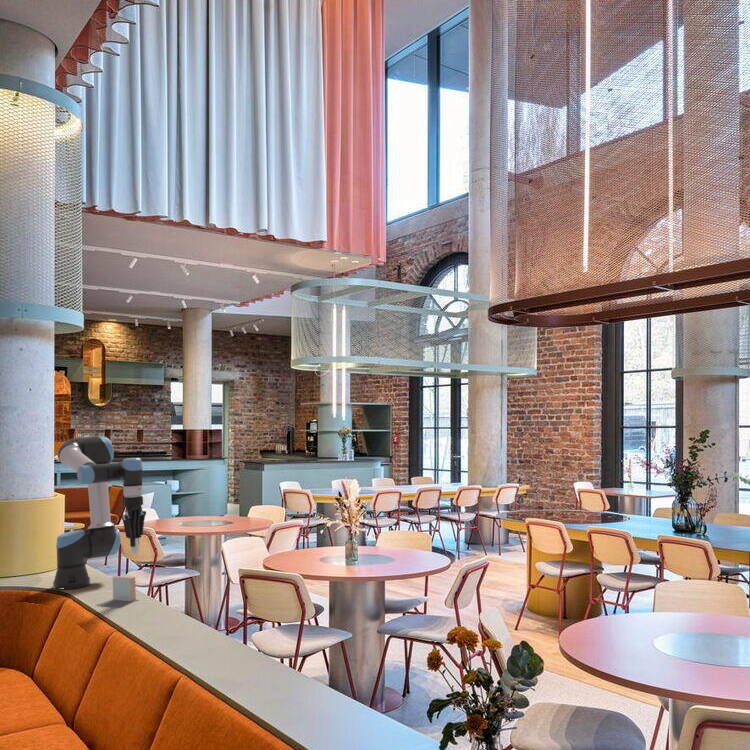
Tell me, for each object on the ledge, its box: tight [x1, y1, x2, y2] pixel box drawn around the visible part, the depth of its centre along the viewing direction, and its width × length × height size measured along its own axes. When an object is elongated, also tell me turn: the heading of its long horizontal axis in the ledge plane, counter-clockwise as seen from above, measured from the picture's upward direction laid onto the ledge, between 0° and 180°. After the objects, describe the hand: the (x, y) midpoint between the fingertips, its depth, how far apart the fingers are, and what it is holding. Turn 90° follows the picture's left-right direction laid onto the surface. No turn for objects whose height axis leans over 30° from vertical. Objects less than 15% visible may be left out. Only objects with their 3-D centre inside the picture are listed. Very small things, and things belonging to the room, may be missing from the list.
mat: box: [94, 598, 140, 609], centre depth 312 cm, size 12×12×1 cm
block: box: [112, 575, 137, 602], centre depth 316 cm, size 3×9×9 cm, turn 68°
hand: (135, 554), depth 322 cm, fingers closed
